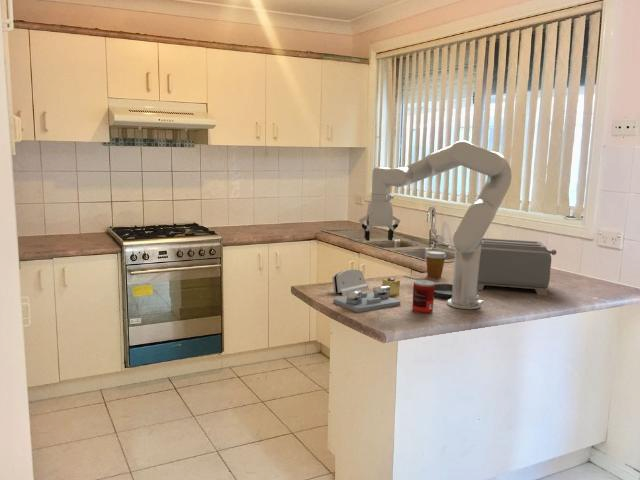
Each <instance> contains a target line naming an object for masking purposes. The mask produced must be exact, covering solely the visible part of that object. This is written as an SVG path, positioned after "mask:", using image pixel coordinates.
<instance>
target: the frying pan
mask: <svg viewBox="0 0 640 480" xmlns="http://www.w3.org/2000/svg"><path fill="white" fill-rule="evenodd" d="M402 277H403V278H407V279H412V280H414V281H416V280H421V279H420V278H415V277H411V276H407V275H403V276H402ZM452 285H453V283H452V284H450V283H435V288H434V297H437V298H440V299H445V300H448V299H451V298H452Z"/></svg>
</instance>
